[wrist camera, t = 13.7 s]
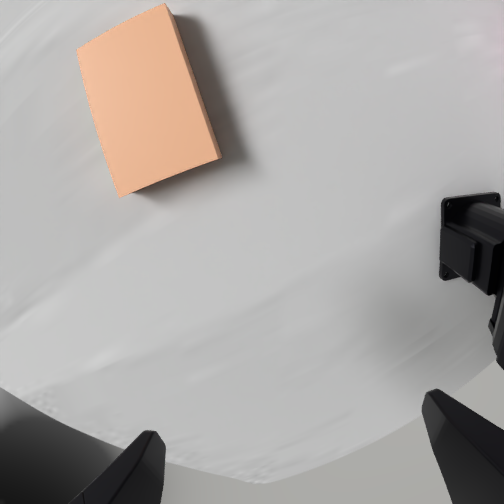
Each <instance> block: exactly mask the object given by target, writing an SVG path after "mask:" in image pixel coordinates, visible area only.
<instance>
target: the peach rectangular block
mask: <svg viewBox="0 0 504 504" xmlns="http://www.w3.org/2000/svg"><path fill="white" fill-rule="evenodd" d="M76 51H77V56H78V60H79V65H80V69H81V74H82V78H83V82H84V86H85V90H86V94H87V98H88V102H89V106H90V109H91V113H92V116H93V120H94V123H95V127H96V130H97V134H98V137H99V140H100V143H101V146H102V150H103V153H104V156H105V159H106V162H107V165H108V168H109V171H110V174H111V176H112V179H113V182H114V185H115V188H116V190H117V193H118V196H119V198H120V197H123V196H125V195H128V194H130V193H133V192H135V191H137V190H140V189H142V188H144V187H147V186H149V185H152V184H154V183H156V182H159V181H161V180H164V179H166V178H169V177H171V176H174V175H176V174H179V173H182V172H184V171H187V170H190V169H192V168H195V167H198V166H200V165H203V164H206V163H209V162H212V161H214V160H217V159H220V158H222V155H221V152H220V149H219V146H218V143H217V141H216V138H215V135H214V132H213V129H212V126H211V123H210V120H209V117H208V114H207V111H206V109H205V106H204V103H203V100H202V97H201V94H200V91H199V88H198V85H197V82H196V80H195V77H194V74H193V71H192V68H191V65H190V62H189V59H188V56H187V54H186V51H185V48H184V45H183V42H182V39H181V36H180V33H179V30H178V28H177V25H176V22H175V19H174V16H173V14H172V13H171V11H170V10H169V8H168V7H167V6H166V4H165V3H164V4H162V5H159V6H157V7H155V8H152V9H150V10H148V11H146V12H143V13H141V14H139V15H137V16H135V17H133V18H131V19H129V20H127V21H125V22H123V23H121V24H119V25H117V26H116V27H114V28H112V29H110V30H108V31H106V32H105V33H103V34H101V35H100V36H98V37H96V38H94V39H93V40H91V41H90V42H88V43H86V44H85V45H83V46H82V47H80V48H78V49H77V50H76Z"/></svg>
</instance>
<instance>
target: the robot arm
mask: <svg viewBox="0 0 504 504" xmlns="http://www.w3.org/2000/svg"><path fill="white" fill-rule="evenodd" d="M495 197H496V199H495ZM448 202H449V206H448V207H447V203H448ZM500 203H501V198H500V194H499V193H496V192H488V193H480V194H471V195H463V196H455V197H447V198H444V199H443V200H442V202H441V232H440V270H439V276H440V278H441V279H442V280H444V281H447V280H450V279H454V278H458V277H462V278H463V279H465V280H466V281H467V282H469V283H470V282H472V283H473V284H474V285H475V286H477V287H478V288H479V289H480V290H482V291H483V292H484V293H485V294H486V295H488V296H490V295H492V294H493V295H494V296H495V297H496V300H495V305H494V310H493V314H492V318H491V319H490V321H489V325H488V327H489V329H490V331H491V334H492V336H493V343H492V345H493V347H494V350H495V353H496V355H497V358H496V361H497V363H498V364H499V365H500V366H501V368H502V369H503V370H504V209H502V208H500ZM445 273H446V275H444V274H445ZM422 415H423V418H424V421H425V424H426V428H427V432H428V435H429V439H430V443H431V446H432V449H433V452H434V455H435V457H436V460H437V462H438V465H439V467H440V470H441V473H442V475H443V478H444V481H445V483H446V486H447V489H448V492H449V495H450V497H451V500H452V503H453V504H504V430H503V429H501V428H499V427H497V426H496V425H494V424H493V423H491V422H490V421H488V420H486V419H485V418H483V417H482V416H480V415H479V414H477V413H476V412H474V411H472V410H471V409H469V408H468V407H466V406H465V405H463V404H461V403H460V402H458V401H457V400H455V399H454V398H452V397H450V396H449V395H447V394H446V393H444V392H443V391H441V390H439V389H434V390H431V391H428V392H427V393H426V395H425V398H424V401H423V405H422ZM165 453H166V446H165V443H164V442H163V440H162V439H161V437H160V436H159V435H158V433H157V432H156V431H151V430H145V431H143V432H142V433H141V434H140V435H139V436H138V437H137V438H136V439H135V440H134V441H133V442H132V443H131V444H130V445H129V446H128V447H127V448H126V449H125V450H124V451H123V453H121V454H120V455H119V456H118V457H117V458H116V459H115V460H114V461H113V462H112V463H111V464H110V465H109V466H108V467H107V468H106V469H105V470H104V471H103V472H102V473H101V474H100V475H99V476H98V477H97V478H96V479H95V480H94V481H92V482H91V483H90V485H88V486H87V487H86V488H85V489H84V490H83V491H82V492H81V493H80V494H79V495H78V496H76V497H75V499H73V500H72V501H71V502H70V503H68V504H160V503H161V497H162V491H163V485H164V469H165Z"/></svg>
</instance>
